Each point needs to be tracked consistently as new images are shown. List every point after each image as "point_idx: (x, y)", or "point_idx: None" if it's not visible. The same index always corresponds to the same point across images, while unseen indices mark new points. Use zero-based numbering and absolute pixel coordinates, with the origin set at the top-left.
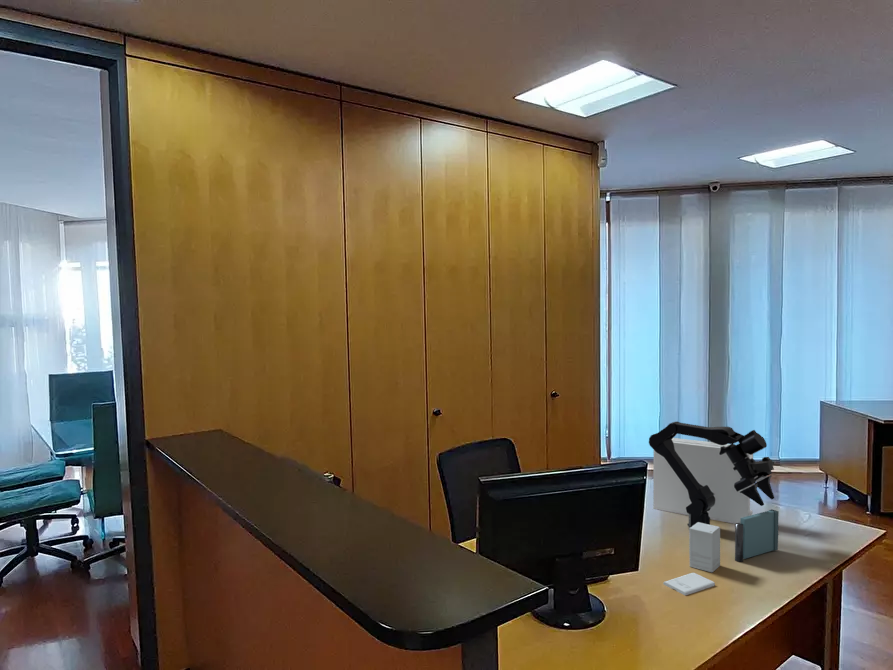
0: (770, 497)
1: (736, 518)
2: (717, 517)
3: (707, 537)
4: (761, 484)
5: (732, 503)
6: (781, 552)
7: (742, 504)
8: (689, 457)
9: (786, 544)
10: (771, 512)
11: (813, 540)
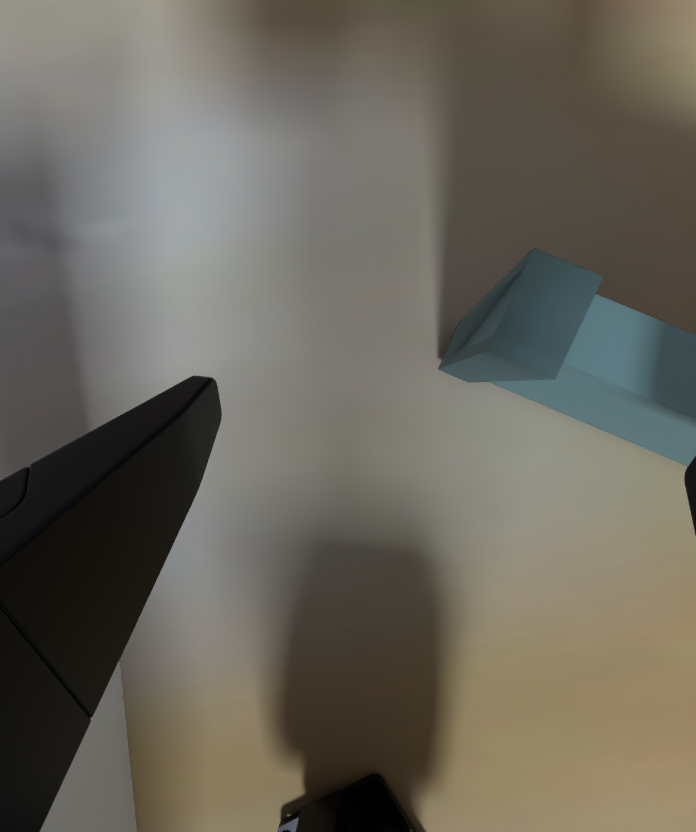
0: (208, 437)
1: None
2: (120, 792)
3: None
4: (15, 731)
5: None
6: (466, 300)
7: None
8: None
9: (299, 307)
10: (650, 320)
11: (119, 182)
